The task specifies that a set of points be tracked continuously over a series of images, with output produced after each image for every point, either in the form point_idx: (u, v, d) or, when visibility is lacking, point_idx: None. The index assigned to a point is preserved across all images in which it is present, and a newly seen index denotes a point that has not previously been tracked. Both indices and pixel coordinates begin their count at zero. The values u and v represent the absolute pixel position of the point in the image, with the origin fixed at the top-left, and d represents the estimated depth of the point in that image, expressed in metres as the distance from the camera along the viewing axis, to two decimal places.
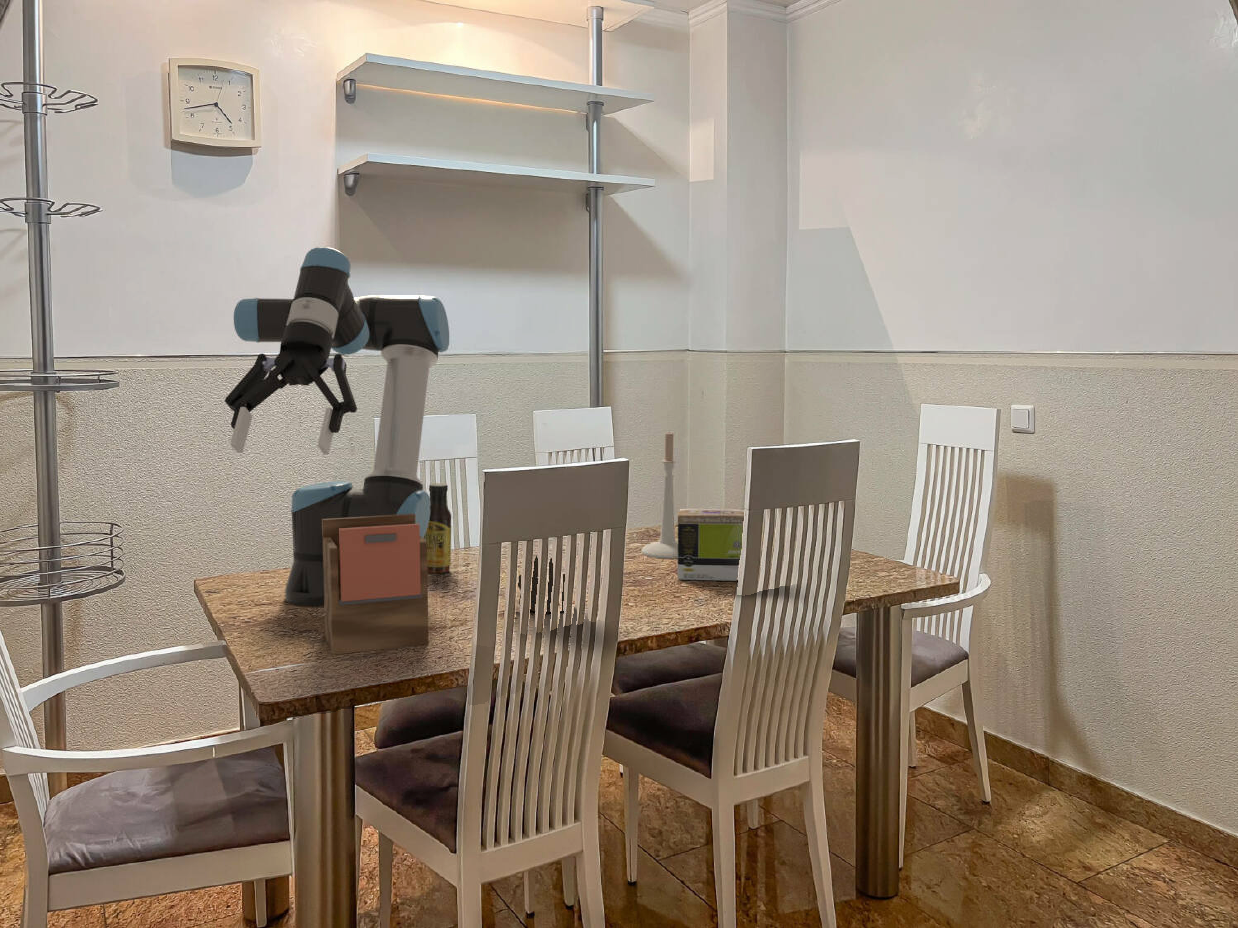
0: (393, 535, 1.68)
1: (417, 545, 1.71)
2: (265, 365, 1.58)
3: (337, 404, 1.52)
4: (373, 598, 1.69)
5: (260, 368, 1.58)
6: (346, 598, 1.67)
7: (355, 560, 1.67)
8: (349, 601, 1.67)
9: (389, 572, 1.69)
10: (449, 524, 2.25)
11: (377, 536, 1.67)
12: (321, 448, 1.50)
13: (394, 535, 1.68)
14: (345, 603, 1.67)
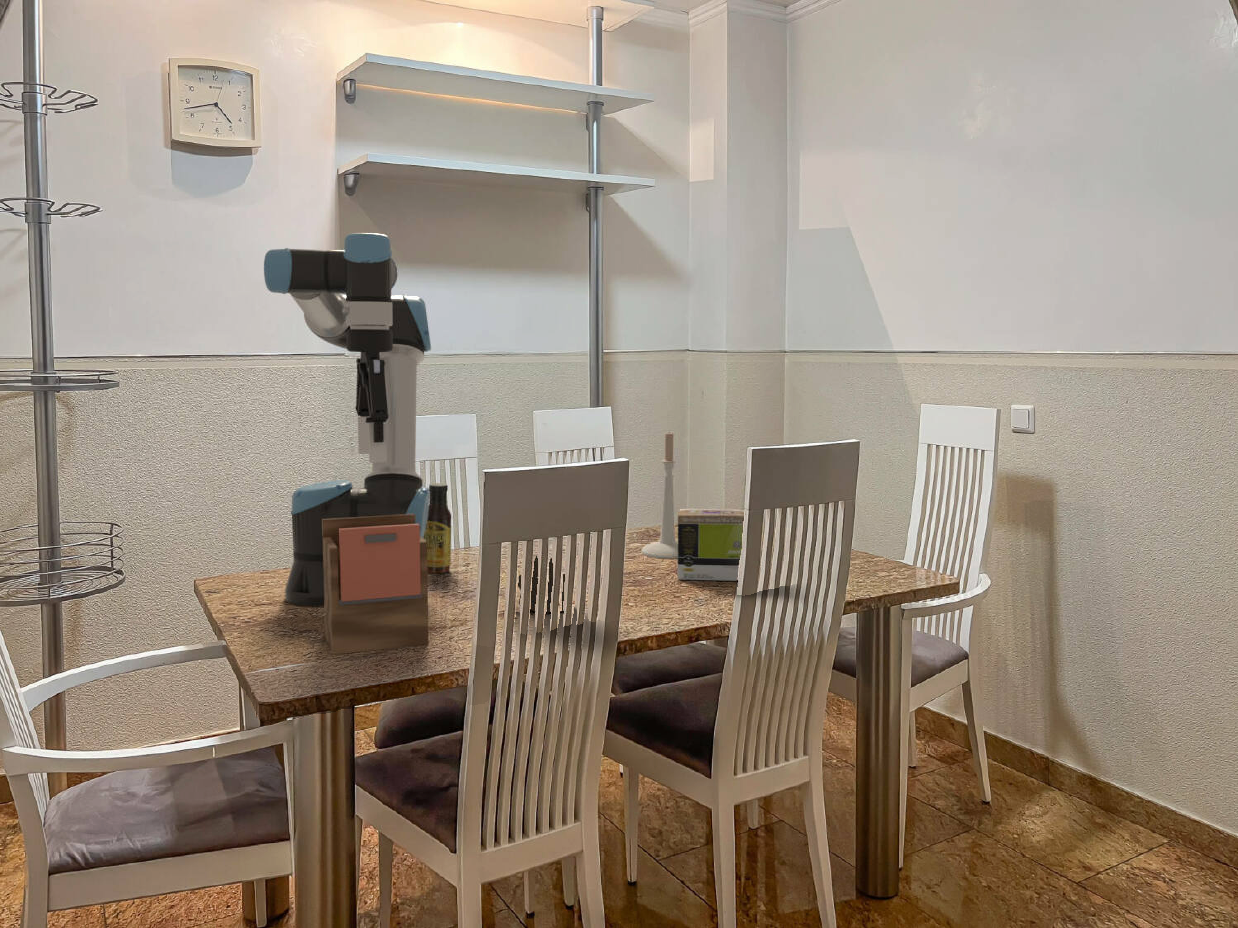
0: (393, 535, 1.68)
1: (417, 545, 1.71)
2: None
3: (367, 421, 1.64)
4: (373, 598, 1.69)
5: None
6: (346, 598, 1.67)
7: (355, 560, 1.67)
8: (349, 601, 1.67)
9: (389, 572, 1.69)
10: (449, 524, 2.25)
11: (377, 536, 1.67)
12: (375, 462, 1.67)
13: (394, 535, 1.68)
14: (345, 603, 1.67)
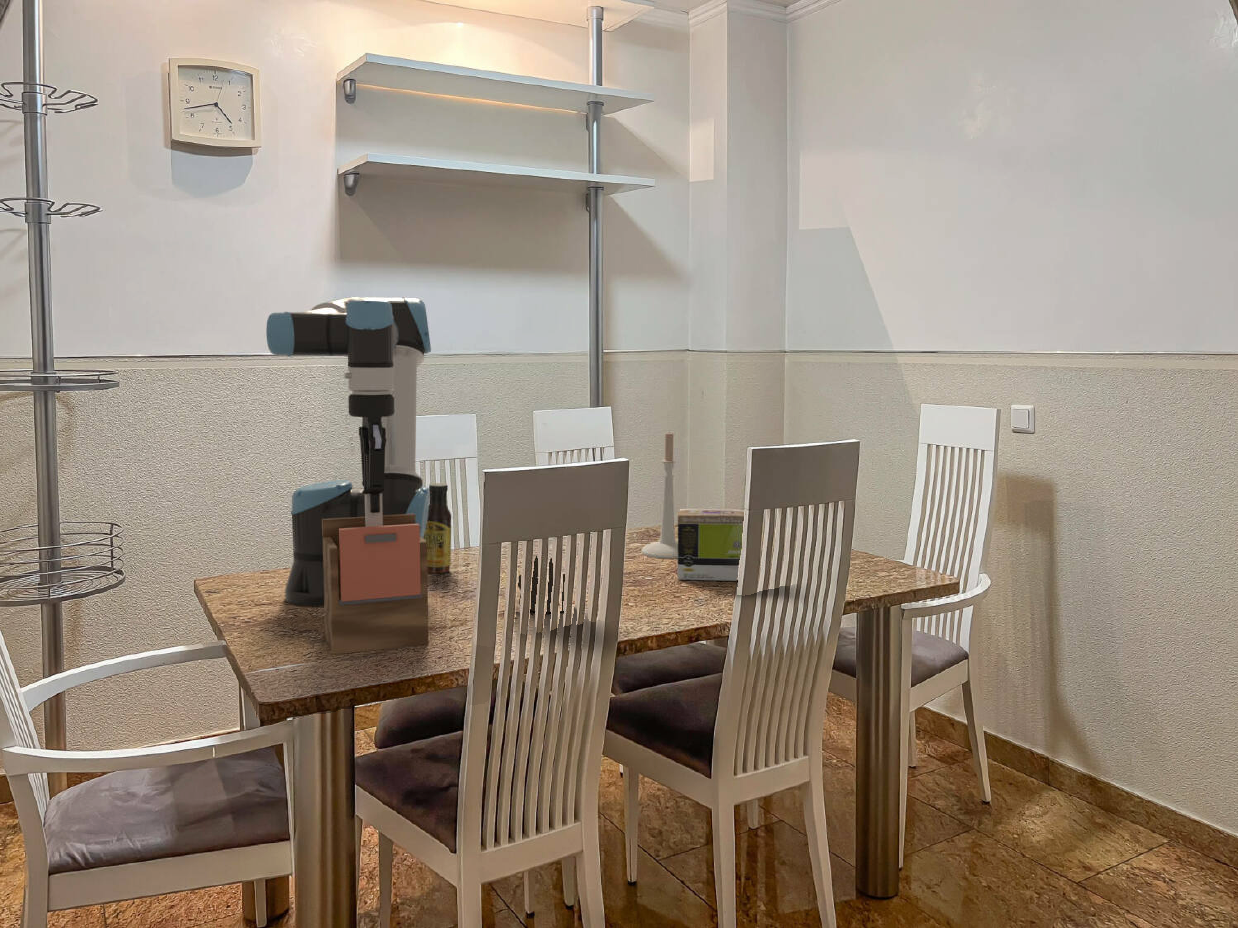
0: (393, 535, 1.68)
1: (417, 545, 1.71)
2: None
3: (364, 493, 1.71)
4: (373, 598, 1.69)
5: None
6: (346, 598, 1.67)
7: (355, 560, 1.67)
8: (349, 601, 1.67)
9: (389, 572, 1.69)
10: (449, 524, 2.25)
11: (377, 536, 1.67)
12: None
13: (394, 535, 1.68)
14: (345, 603, 1.67)
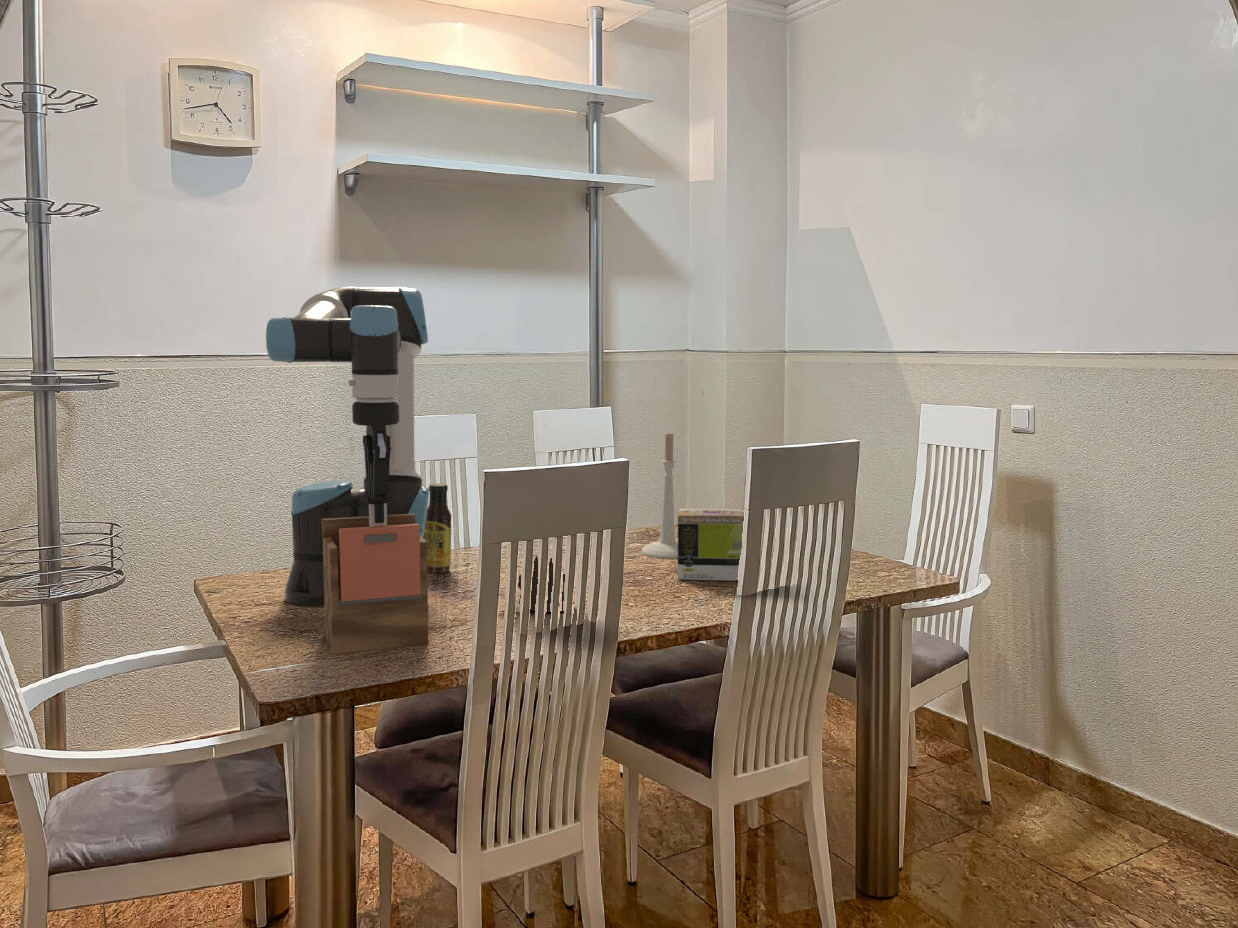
0: (393, 535, 1.68)
1: (417, 545, 1.70)
2: None
3: (368, 503, 1.67)
4: (373, 598, 1.69)
5: None
6: (346, 598, 1.67)
7: (356, 560, 1.67)
8: (349, 601, 1.67)
9: (389, 572, 1.69)
10: (449, 524, 2.25)
11: (377, 536, 1.67)
12: None
13: (394, 535, 1.68)
14: (345, 603, 1.67)
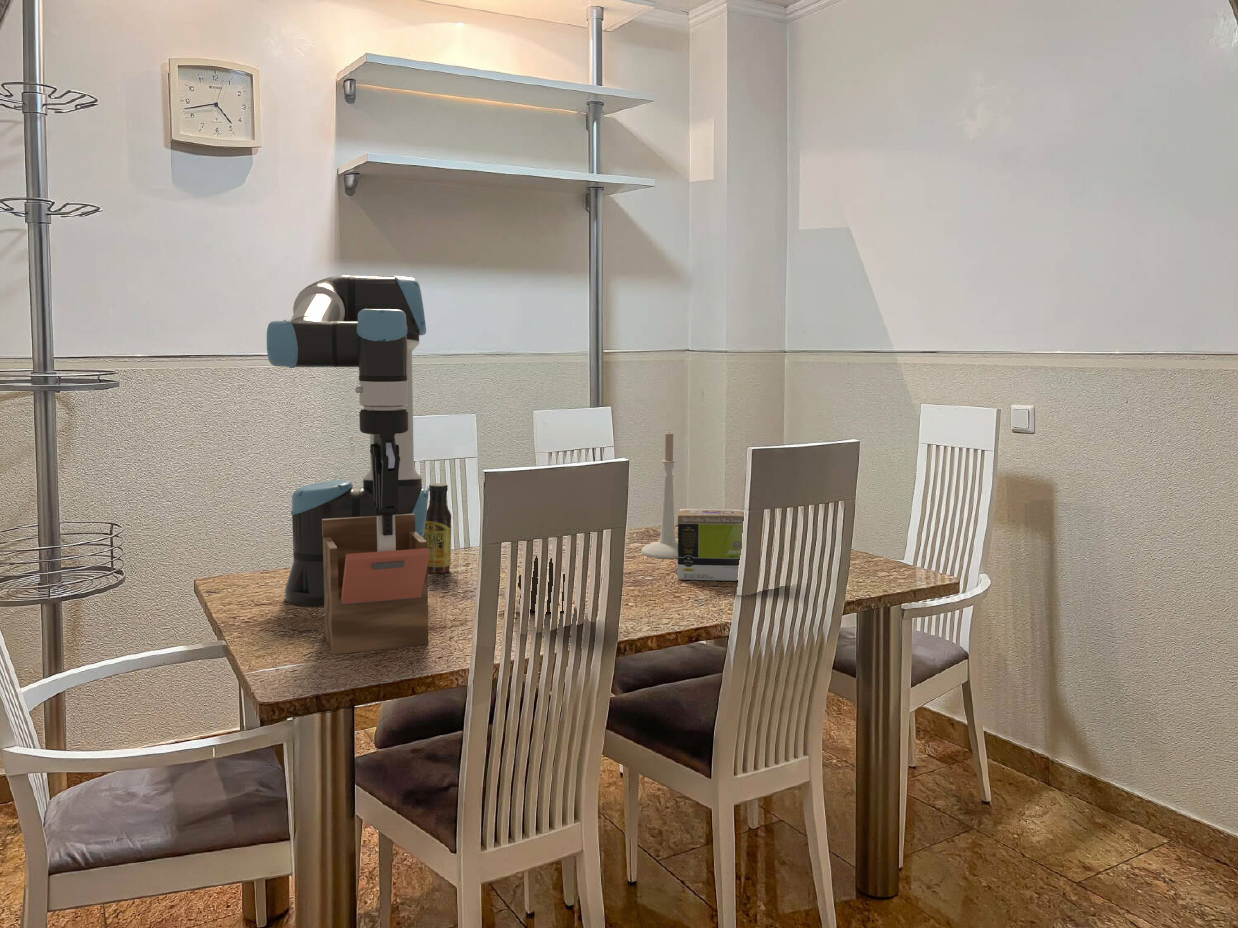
0: (401, 563, 1.62)
1: (424, 567, 1.66)
2: None
3: (376, 515, 1.60)
4: (373, 601, 1.69)
5: None
6: (346, 602, 1.67)
7: (360, 579, 1.63)
8: (349, 603, 1.67)
9: (392, 585, 1.67)
10: (449, 524, 2.25)
11: (384, 565, 1.61)
12: None
13: (402, 563, 1.63)
14: (345, 604, 1.67)
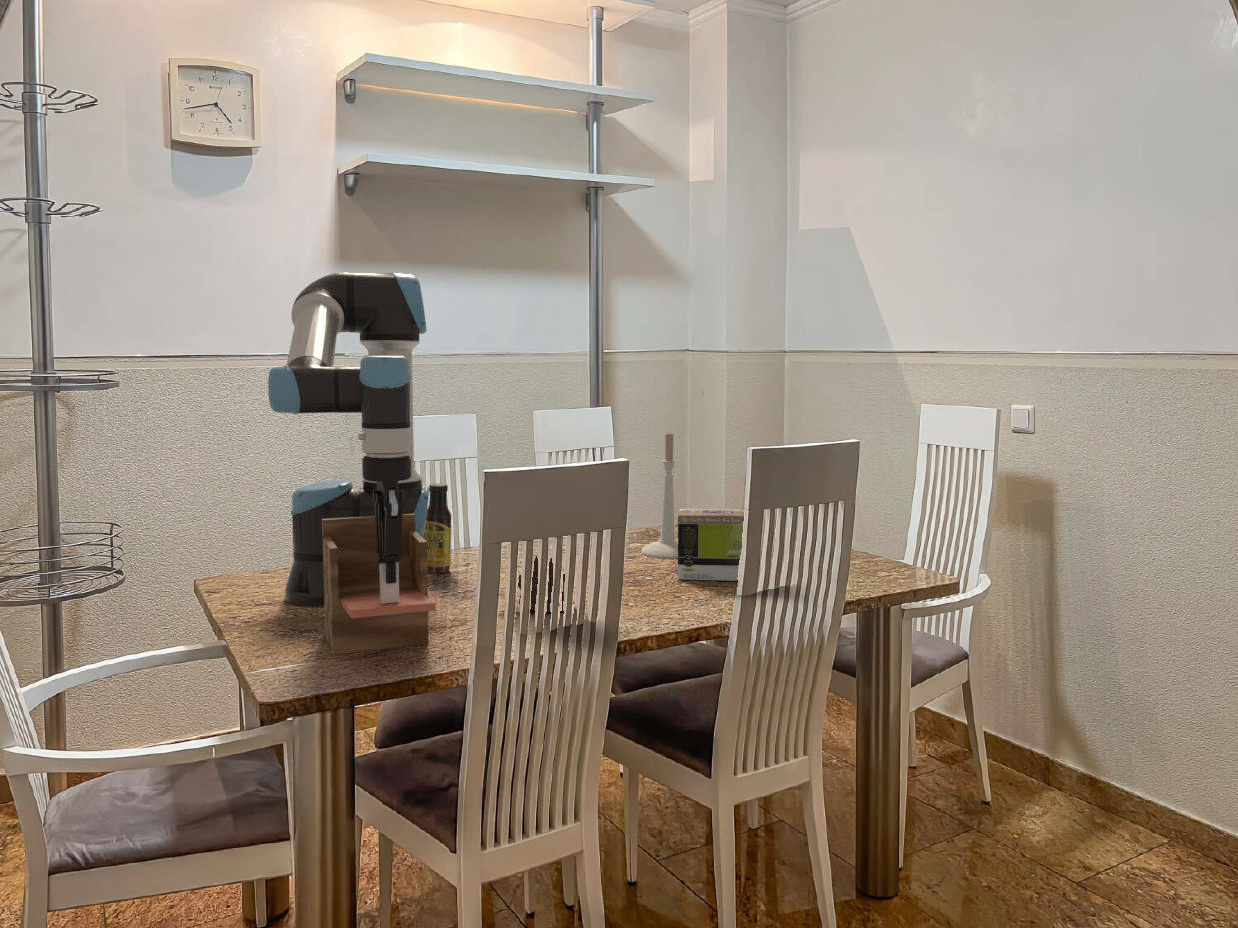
0: (405, 614, 1.61)
1: None
2: None
3: (379, 563, 1.59)
4: None
5: None
6: None
7: None
8: None
9: None
10: (449, 524, 2.25)
11: None
12: None
13: None
14: None
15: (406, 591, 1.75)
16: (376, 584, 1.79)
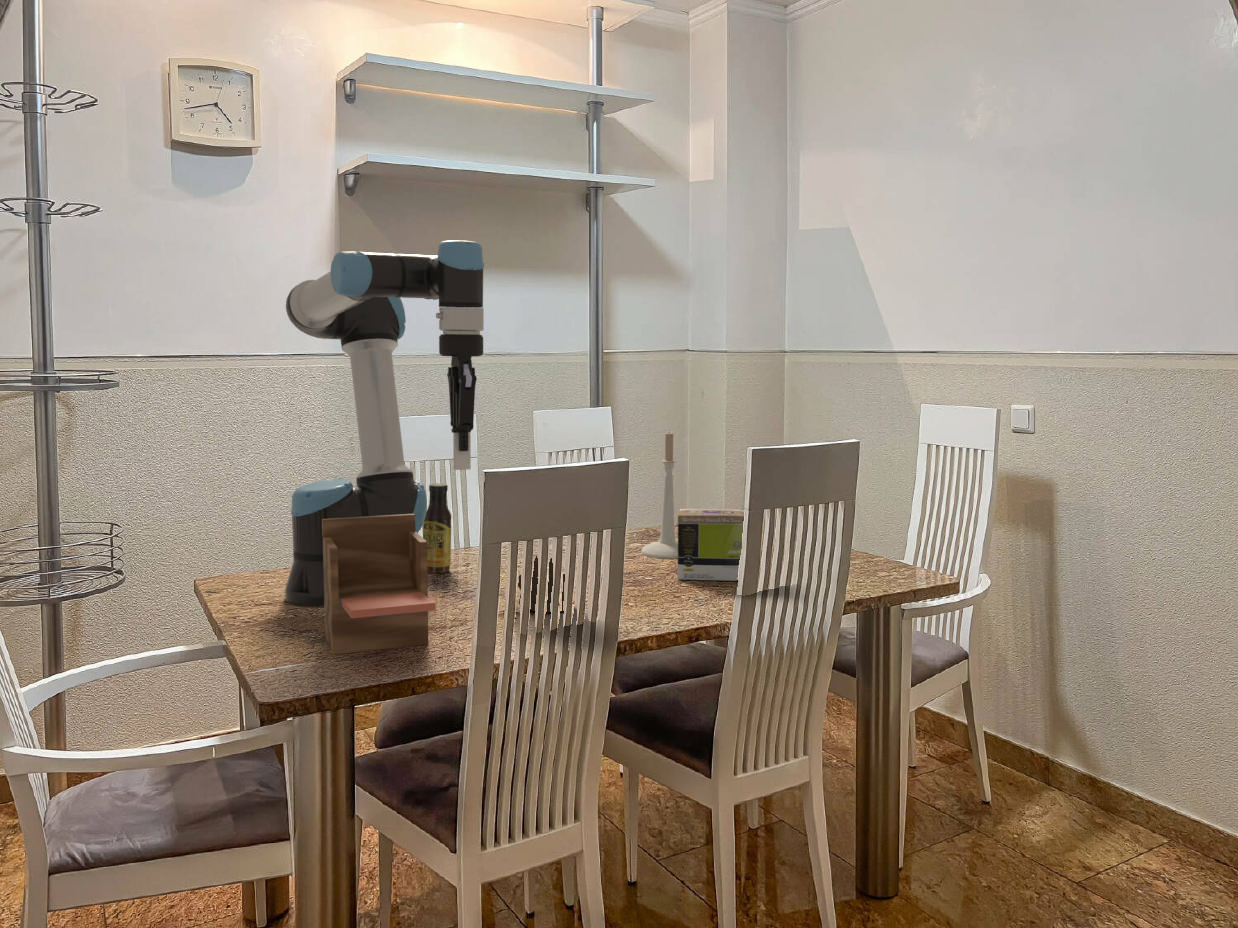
0: (405, 614, 1.61)
1: None
2: None
3: (453, 432, 1.74)
4: None
5: None
6: None
7: None
8: None
9: None
10: (449, 524, 2.25)
11: None
12: None
13: None
14: None
15: (406, 591, 1.75)
16: (376, 584, 1.79)
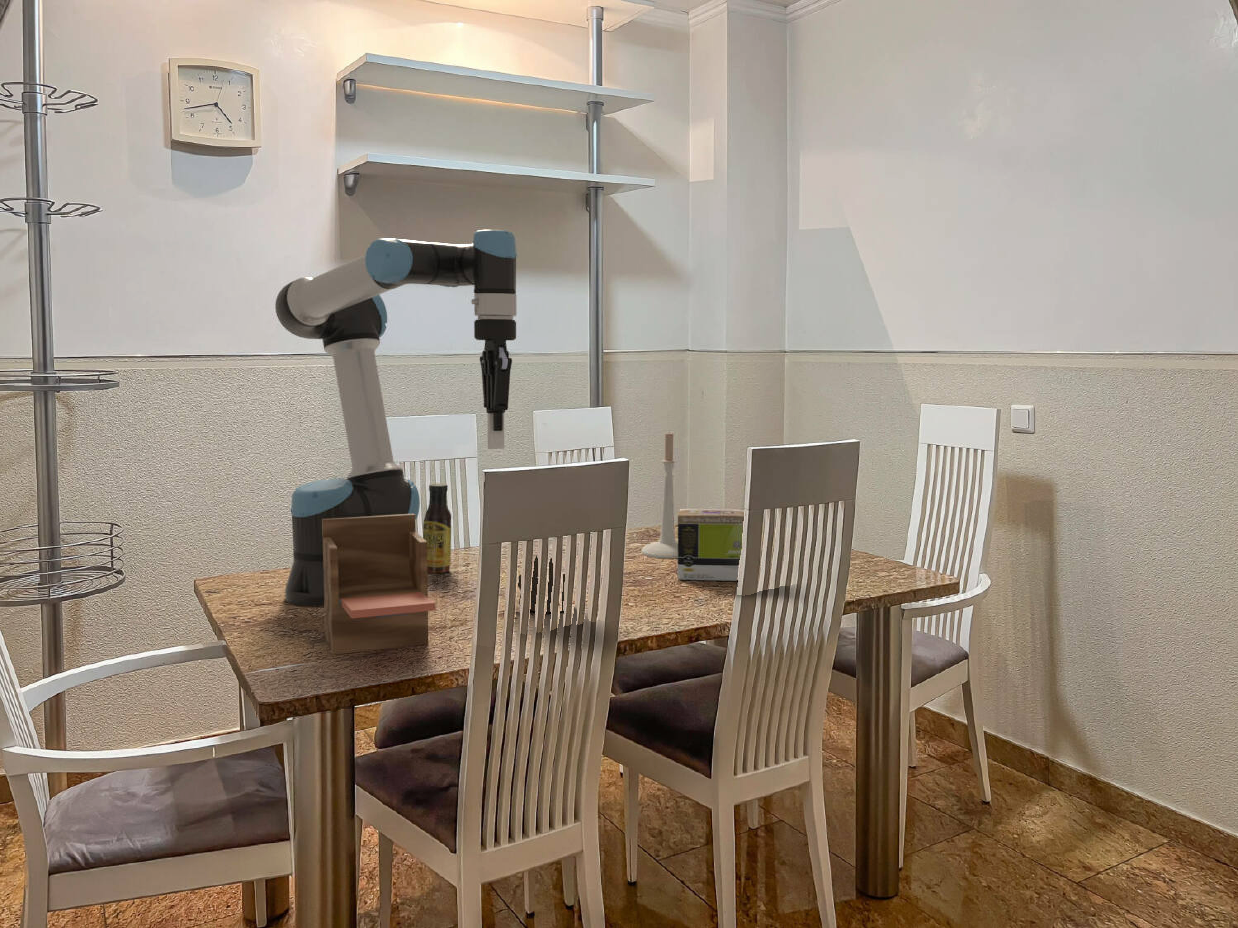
0: (405, 614, 1.61)
1: None
2: None
3: (488, 413, 1.83)
4: None
5: (484, 367, 1.87)
6: None
7: None
8: None
9: None
10: (449, 524, 2.25)
11: None
12: (494, 448, 1.85)
13: None
14: None
15: (406, 591, 1.75)
16: (376, 584, 1.79)
